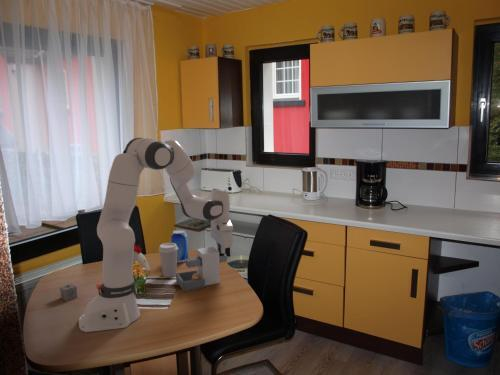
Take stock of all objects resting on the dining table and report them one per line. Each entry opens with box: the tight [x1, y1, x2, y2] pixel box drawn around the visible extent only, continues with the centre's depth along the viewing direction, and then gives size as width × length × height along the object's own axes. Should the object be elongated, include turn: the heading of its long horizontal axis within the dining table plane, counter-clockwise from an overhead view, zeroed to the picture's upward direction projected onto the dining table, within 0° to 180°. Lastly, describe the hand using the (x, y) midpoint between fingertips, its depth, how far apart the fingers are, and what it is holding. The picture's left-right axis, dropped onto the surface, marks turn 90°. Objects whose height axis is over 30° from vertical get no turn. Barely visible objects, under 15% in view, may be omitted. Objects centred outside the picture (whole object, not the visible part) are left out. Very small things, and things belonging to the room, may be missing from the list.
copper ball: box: [191, 273, 200, 281], centre depth 194 cm, size 4×4×4 cm
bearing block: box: [196, 246, 221, 286], centre depth 196 cm, size 8×8×15 cm
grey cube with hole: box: [59, 283, 78, 302], centre depth 181 cm, size 5×5×5 cm
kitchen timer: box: [133, 244, 151, 273], centre depth 207 cm, size 14×14×15 cm
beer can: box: [170, 229, 189, 264], centre depth 224 cm, size 8×8×16 cm
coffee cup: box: [157, 242, 178, 278], centre depth 204 cm, size 10×10×15 cm
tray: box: [175, 269, 206, 293], centre depth 193 cm, size 10×13×4 cm
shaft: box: [185, 243, 228, 268], centre depth 194 cm, size 18×4×8 cm, turn 114°
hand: (221, 251), depth 197 cm, fingers closed on shaft, 3 cm apart
